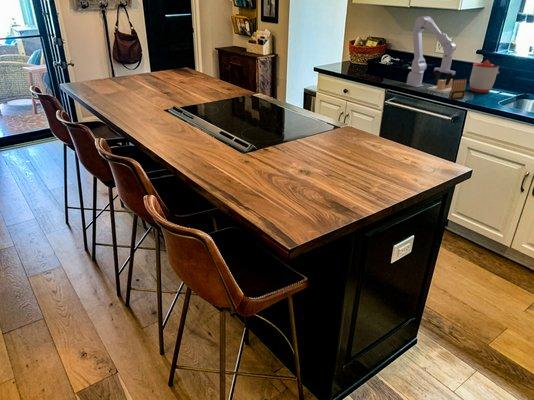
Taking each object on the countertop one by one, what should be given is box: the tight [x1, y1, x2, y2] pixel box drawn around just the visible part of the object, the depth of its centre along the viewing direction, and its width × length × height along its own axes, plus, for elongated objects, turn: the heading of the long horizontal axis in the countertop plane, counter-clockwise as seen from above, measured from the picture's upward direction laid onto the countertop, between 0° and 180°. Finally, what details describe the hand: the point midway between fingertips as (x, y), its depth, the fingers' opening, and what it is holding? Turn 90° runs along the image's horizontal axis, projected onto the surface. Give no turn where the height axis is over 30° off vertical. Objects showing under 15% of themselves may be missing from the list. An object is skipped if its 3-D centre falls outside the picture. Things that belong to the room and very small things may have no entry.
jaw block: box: [436, 79, 446, 90], centre depth 278 cm, size 4×4×7 cm
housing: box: [427, 78, 454, 95], centre depth 279 cm, size 13×14×7 cm
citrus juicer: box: [469, 59, 500, 94], centre depth 277 cm, size 16×17×20 cm
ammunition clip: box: [448, 78, 467, 101], centre depth 258 cm, size 11×2×12 cm, turn 113°
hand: (441, 83), depth 277 cm, fingers open, 7 cm apart
